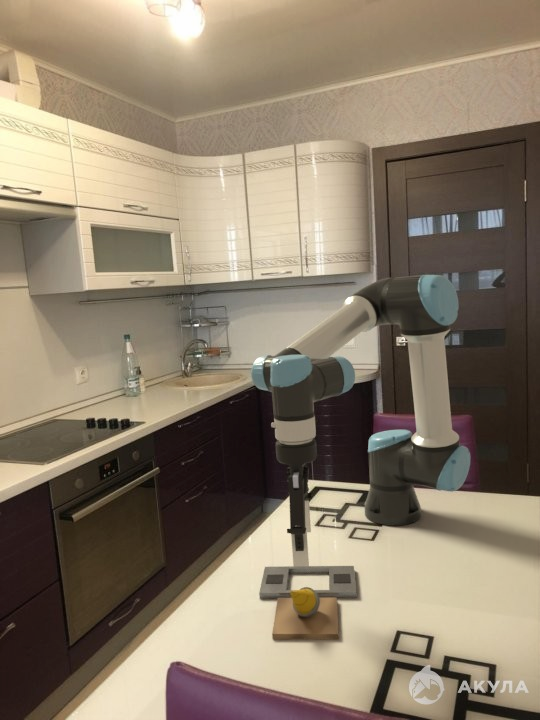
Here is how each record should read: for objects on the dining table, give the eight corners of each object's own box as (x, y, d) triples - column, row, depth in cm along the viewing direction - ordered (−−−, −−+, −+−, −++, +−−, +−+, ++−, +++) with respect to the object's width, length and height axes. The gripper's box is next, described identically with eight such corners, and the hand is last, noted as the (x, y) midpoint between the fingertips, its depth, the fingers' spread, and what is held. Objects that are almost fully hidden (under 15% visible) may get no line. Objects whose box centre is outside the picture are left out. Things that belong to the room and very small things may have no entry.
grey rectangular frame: (354, 570, 126) (353, 565, 125) (356, 597, 115) (356, 591, 114) (265, 571, 128) (264, 566, 127) (259, 598, 117) (259, 592, 117)
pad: (337, 602, 114) (336, 597, 113) (338, 639, 102) (338, 633, 102) (278, 602, 115) (277, 597, 115) (272, 638, 103) (272, 633, 103)
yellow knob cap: (328, 616, 108) (305, 600, 102) (304, 625, 109) (280, 610, 103) (322, 589, 112) (299, 572, 105) (299, 598, 113) (275, 582, 107)
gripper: (280, 422, 116) (287, 520, 119) (268, 461, 92) (277, 582, 95) (316, 421, 116) (322, 519, 118) (314, 459, 91) (322, 582, 94)
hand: (302, 547), depth 107 cm, fingers open, 13 cm apart
